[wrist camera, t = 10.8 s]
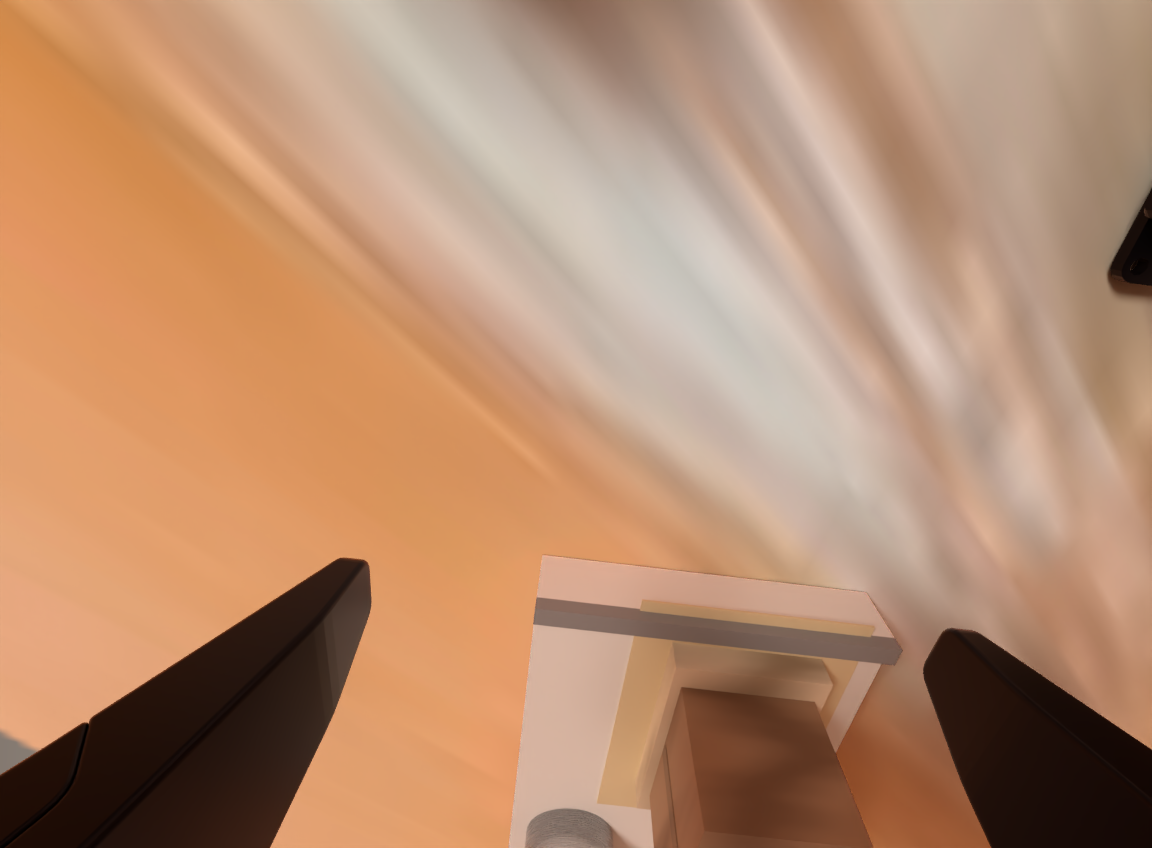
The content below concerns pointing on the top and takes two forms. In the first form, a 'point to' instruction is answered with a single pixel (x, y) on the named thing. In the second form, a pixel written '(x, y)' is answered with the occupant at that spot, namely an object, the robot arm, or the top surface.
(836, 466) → the top surface
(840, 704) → the dock
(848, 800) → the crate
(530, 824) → the canister
